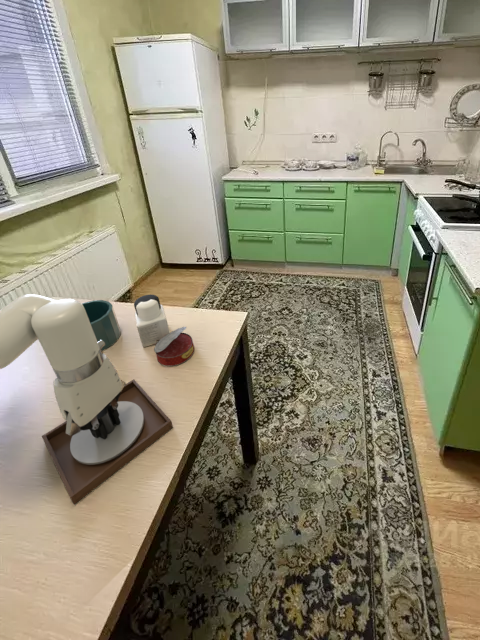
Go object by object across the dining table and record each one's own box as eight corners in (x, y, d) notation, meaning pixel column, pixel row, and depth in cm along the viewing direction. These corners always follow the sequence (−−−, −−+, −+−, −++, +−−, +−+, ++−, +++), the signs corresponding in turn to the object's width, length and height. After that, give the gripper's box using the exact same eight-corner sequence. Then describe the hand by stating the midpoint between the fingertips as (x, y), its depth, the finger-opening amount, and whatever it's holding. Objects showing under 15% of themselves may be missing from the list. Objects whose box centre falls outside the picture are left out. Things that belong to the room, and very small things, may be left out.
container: (140, 332, 97) (129, 296, 91) (167, 324, 100) (158, 288, 94) (143, 348, 91) (131, 310, 85) (171, 339, 94) (162, 302, 88)
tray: (74, 504, 56) (70, 498, 55) (45, 442, 67) (41, 436, 66) (173, 427, 69) (171, 420, 68) (135, 385, 79) (133, 379, 78)
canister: (81, 361, 87) (70, 334, 83) (66, 340, 95) (54, 314, 90) (128, 337, 95) (119, 311, 91) (110, 320, 103) (101, 295, 99)
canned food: (172, 379, 86) (147, 364, 80) (163, 353, 94) (140, 337, 87) (206, 351, 88) (185, 334, 81) (195, 328, 95) (174, 310, 88)
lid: (86, 482, 59) (75, 461, 56) (62, 436, 67) (51, 415, 64) (156, 429, 68) (150, 409, 65) (127, 394, 76) (120, 374, 73)
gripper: (101, 330, 67) (124, 393, 75) (19, 391, 53) (58, 459, 62) (129, 339, 64) (150, 402, 72) (49, 405, 51) (86, 474, 59)
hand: (107, 428), depth 67 cm, fingers closed on lid, 2 cm apart
